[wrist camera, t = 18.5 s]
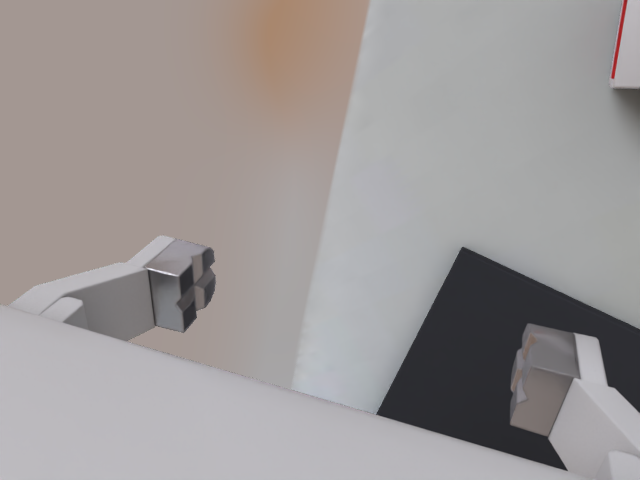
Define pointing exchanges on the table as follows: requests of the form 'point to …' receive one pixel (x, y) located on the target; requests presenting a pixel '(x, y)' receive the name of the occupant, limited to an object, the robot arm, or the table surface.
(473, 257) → the mat
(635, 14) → the usb drive
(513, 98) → the table surface
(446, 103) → the table surface
